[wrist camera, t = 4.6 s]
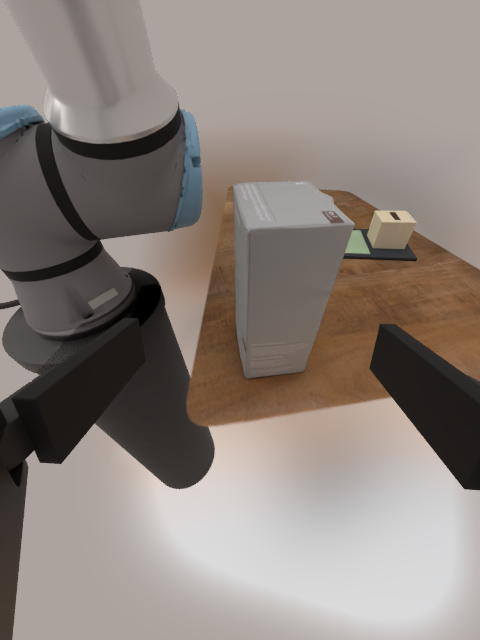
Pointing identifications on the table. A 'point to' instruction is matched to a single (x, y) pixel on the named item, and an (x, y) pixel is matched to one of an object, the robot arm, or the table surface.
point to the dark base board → (383, 238)
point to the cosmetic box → (283, 271)
